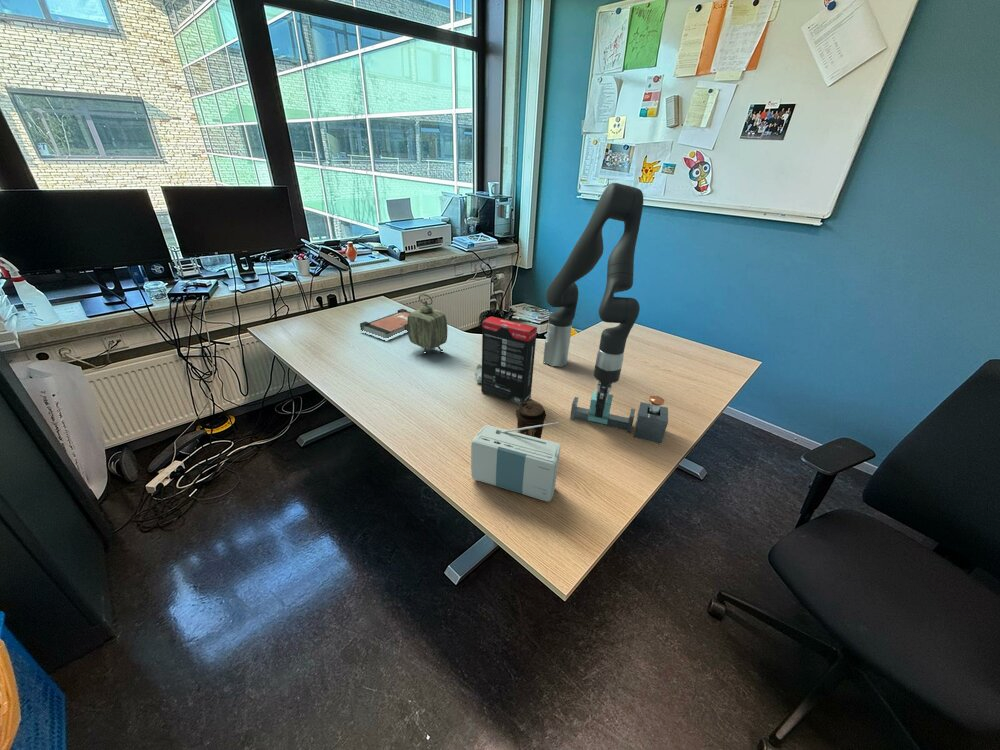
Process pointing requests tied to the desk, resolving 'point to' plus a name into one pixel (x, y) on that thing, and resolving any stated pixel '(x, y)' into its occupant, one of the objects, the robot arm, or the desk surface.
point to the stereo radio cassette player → (515, 461)
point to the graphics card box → (507, 359)
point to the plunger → (655, 404)
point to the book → (387, 324)
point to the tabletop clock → (427, 326)
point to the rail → (613, 420)
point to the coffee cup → (530, 418)
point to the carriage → (605, 412)
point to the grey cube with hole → (651, 424)
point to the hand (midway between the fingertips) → (599, 411)
